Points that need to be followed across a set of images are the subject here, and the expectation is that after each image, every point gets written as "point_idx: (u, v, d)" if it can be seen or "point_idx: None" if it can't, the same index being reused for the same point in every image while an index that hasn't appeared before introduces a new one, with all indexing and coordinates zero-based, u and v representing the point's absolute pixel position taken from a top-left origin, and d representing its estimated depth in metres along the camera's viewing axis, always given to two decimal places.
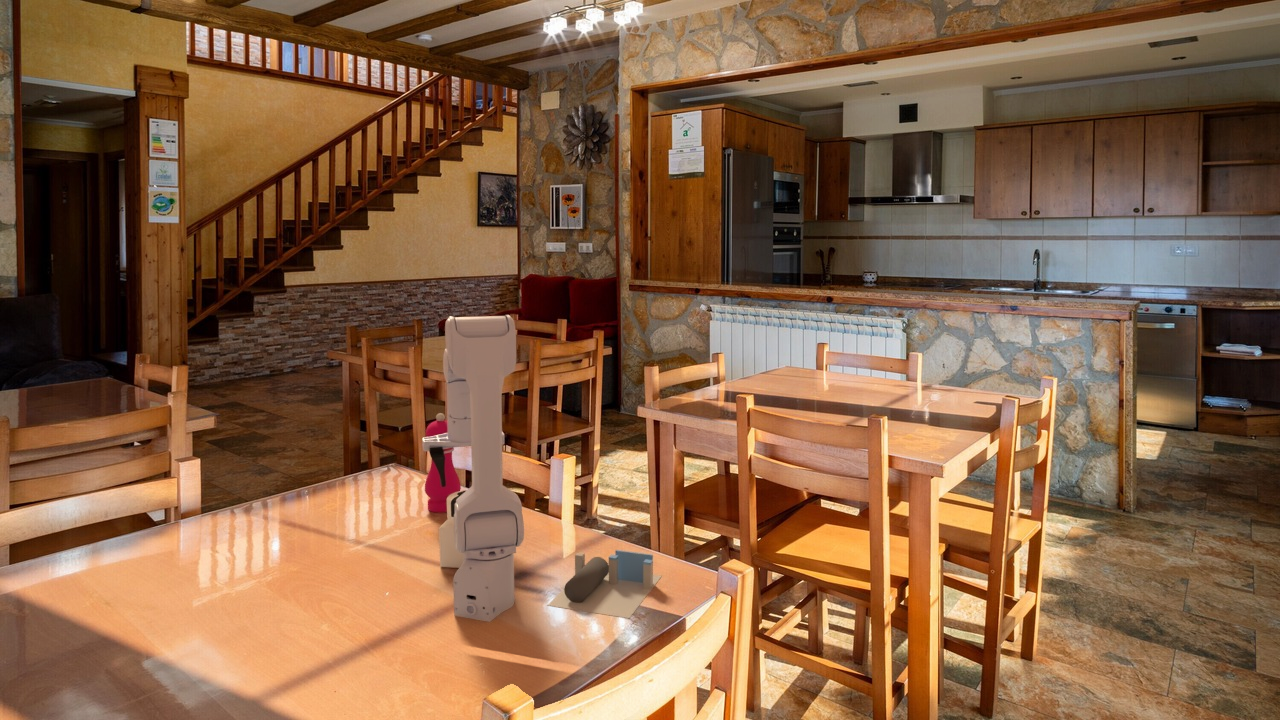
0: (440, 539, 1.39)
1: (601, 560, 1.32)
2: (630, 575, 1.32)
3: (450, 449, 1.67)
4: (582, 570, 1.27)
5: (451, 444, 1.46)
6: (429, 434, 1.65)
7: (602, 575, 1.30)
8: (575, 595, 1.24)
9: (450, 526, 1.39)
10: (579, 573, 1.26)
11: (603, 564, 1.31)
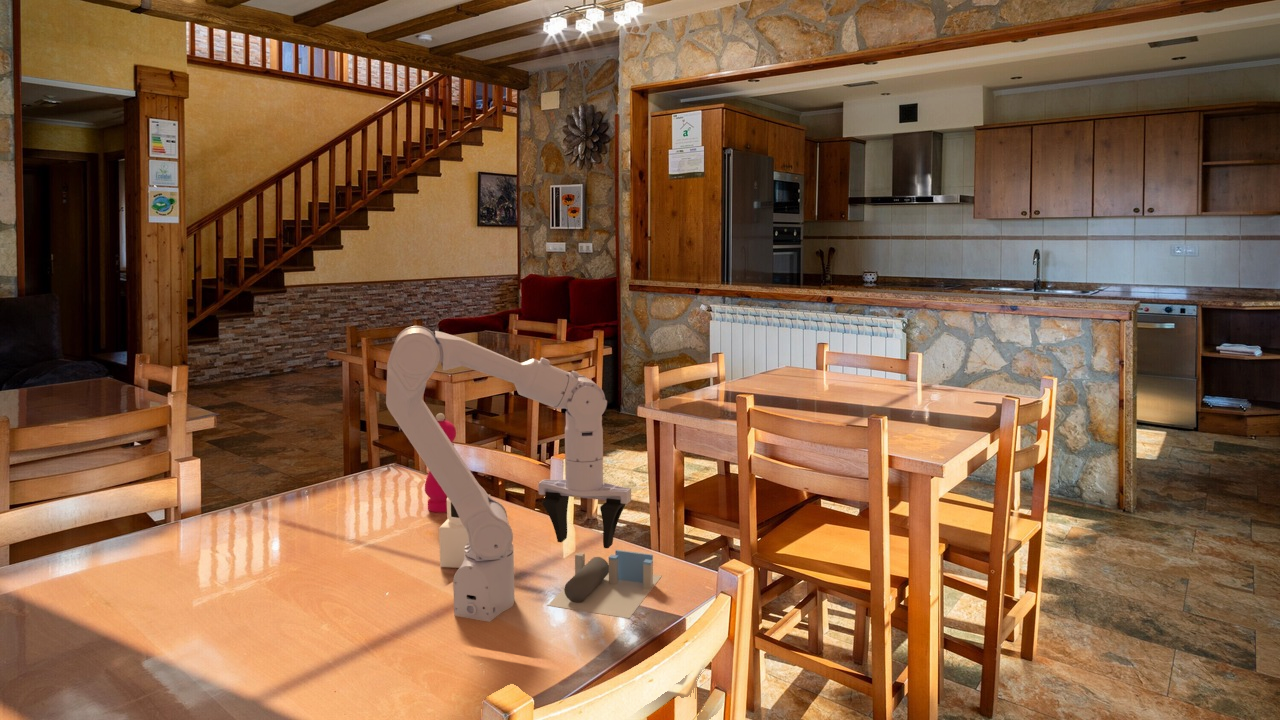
0: (440, 539, 1.39)
1: (601, 561, 1.32)
2: (630, 575, 1.32)
3: None
4: (582, 570, 1.27)
5: (562, 490, 1.24)
6: None
7: (602, 576, 1.30)
8: (575, 595, 1.24)
9: (450, 526, 1.39)
10: (579, 573, 1.26)
11: (603, 564, 1.31)
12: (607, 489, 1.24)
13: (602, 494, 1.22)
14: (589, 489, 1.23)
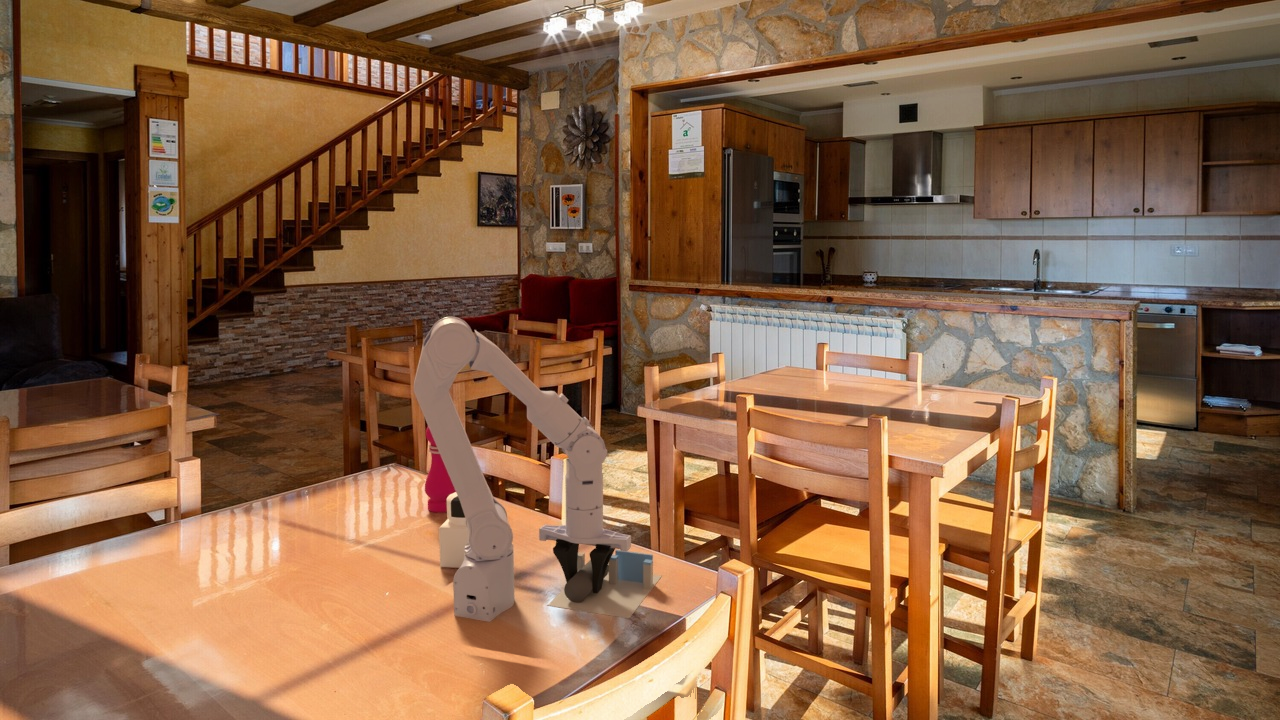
0: (440, 539, 1.39)
1: None
2: (630, 575, 1.32)
3: None
4: (582, 570, 1.27)
5: (563, 537, 1.25)
6: (429, 434, 1.65)
7: None
8: (575, 595, 1.24)
9: (450, 526, 1.39)
10: (579, 573, 1.26)
11: None
12: (607, 536, 1.25)
13: (602, 542, 1.24)
14: (589, 536, 1.24)
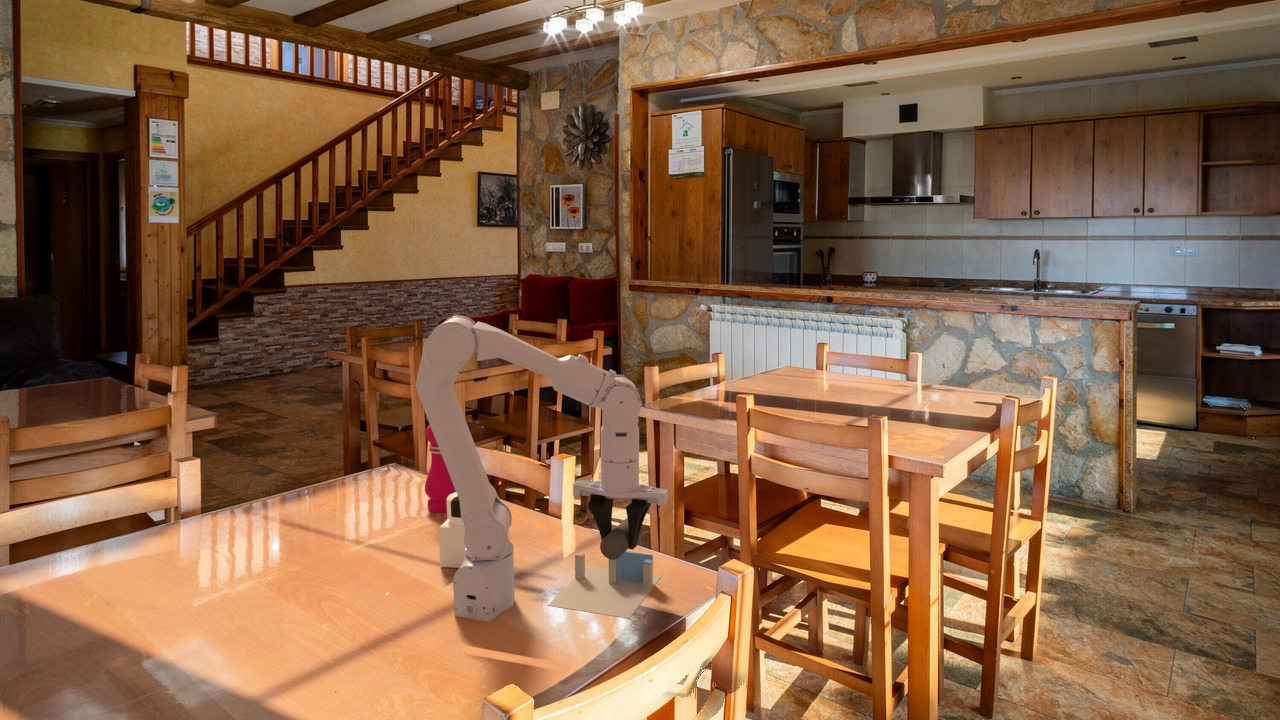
0: (440, 539, 1.39)
1: None
2: (630, 575, 1.32)
3: None
4: (617, 528, 1.25)
5: (598, 492, 1.22)
6: (429, 434, 1.65)
7: None
8: (611, 552, 1.21)
9: (450, 526, 1.39)
10: (614, 530, 1.24)
11: None
12: (643, 491, 1.22)
13: (639, 496, 1.21)
14: (625, 490, 1.21)
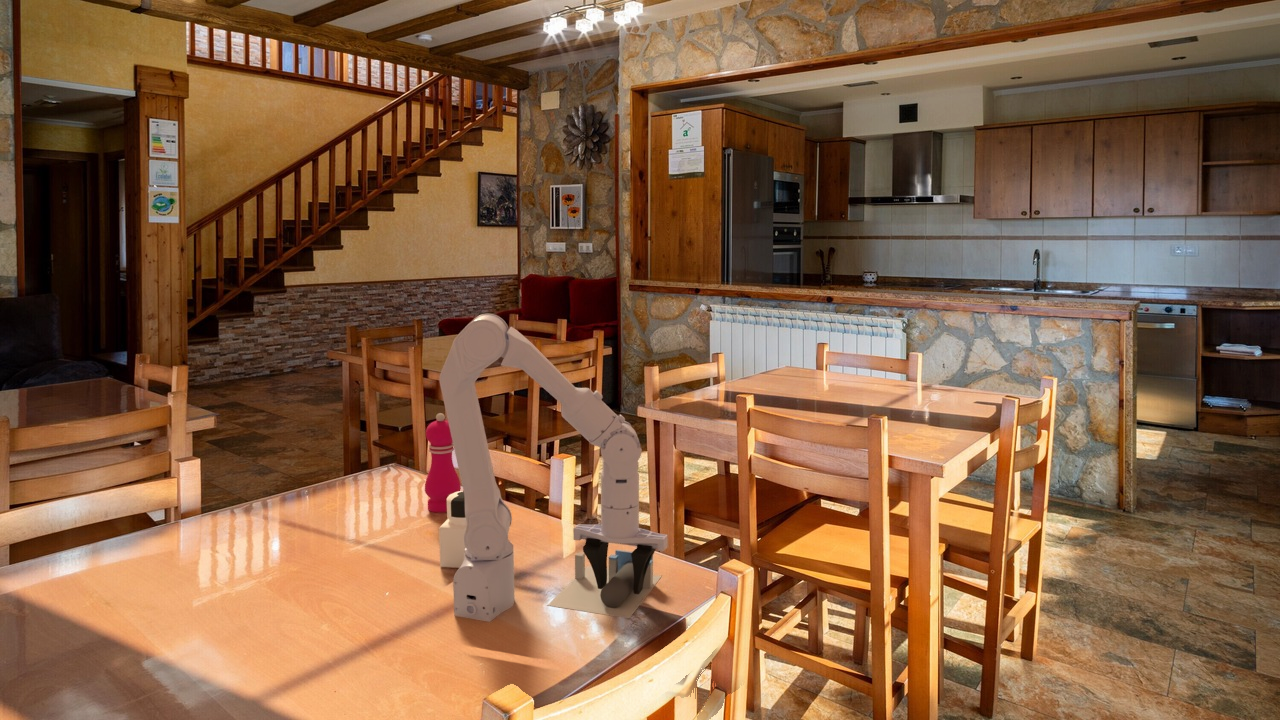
0: (440, 539, 1.39)
1: None
2: None
3: (450, 449, 1.67)
4: (617, 575, 1.26)
5: (598, 537, 1.23)
6: (429, 434, 1.65)
7: None
8: (611, 600, 1.22)
9: (450, 526, 1.39)
10: (615, 578, 1.25)
11: None
12: (643, 536, 1.23)
13: (639, 541, 1.22)
14: (625, 536, 1.22)
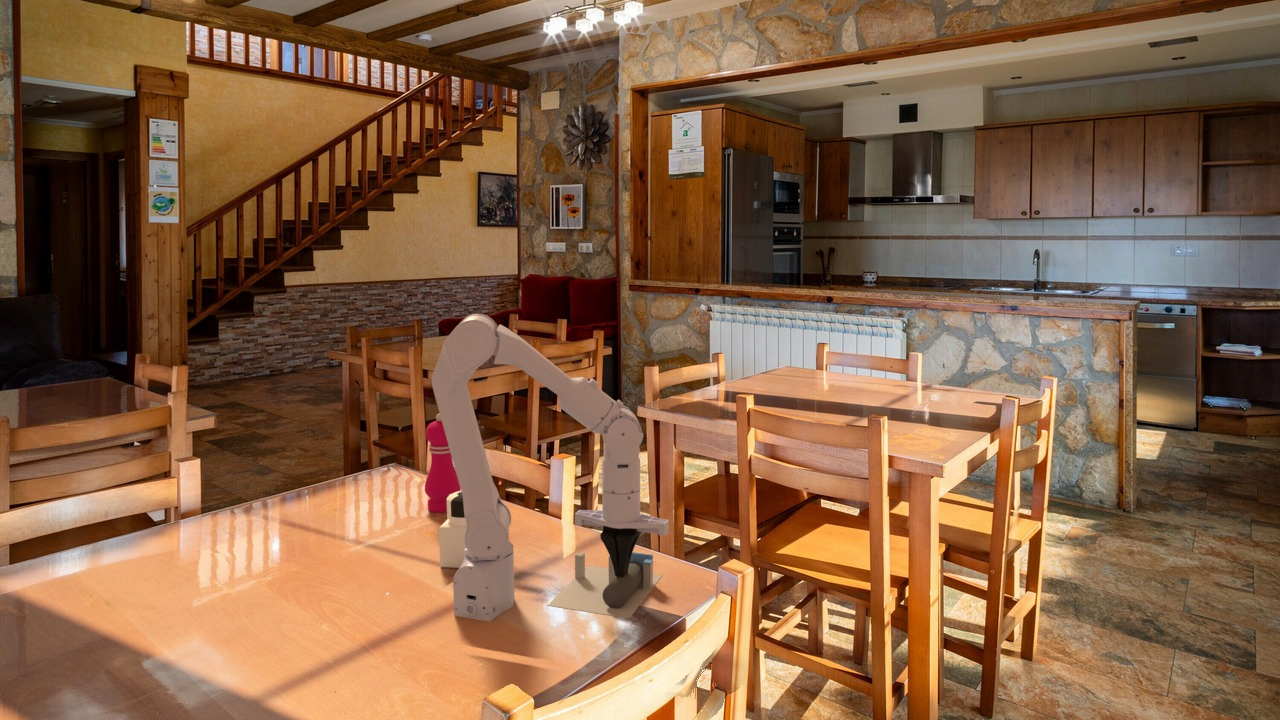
0: (440, 539, 1.39)
1: (639, 567, 1.30)
2: None
3: None
4: None
5: (600, 522, 1.23)
6: (429, 434, 1.65)
7: (639, 583, 1.28)
8: (613, 600, 1.22)
9: (450, 526, 1.39)
10: (619, 578, 1.24)
11: (641, 571, 1.29)
12: (645, 521, 1.23)
13: (640, 526, 1.22)
14: (627, 521, 1.22)
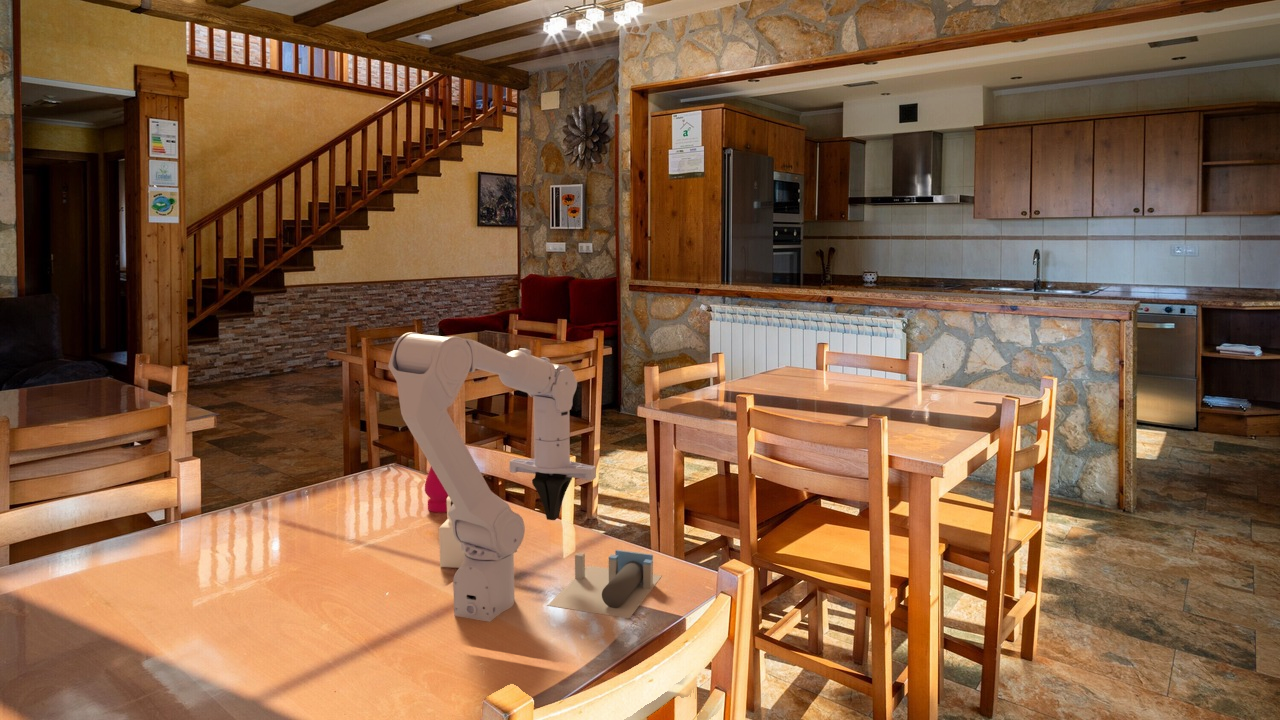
0: (440, 539, 1.39)
1: (638, 566, 1.30)
2: None
3: None
4: (620, 575, 1.26)
5: (531, 468, 1.32)
6: None
7: (638, 581, 1.28)
8: (612, 600, 1.22)
9: (450, 526, 1.39)
10: (617, 578, 1.25)
11: (640, 569, 1.29)
12: (573, 467, 1.32)
13: (568, 471, 1.30)
14: (556, 466, 1.31)
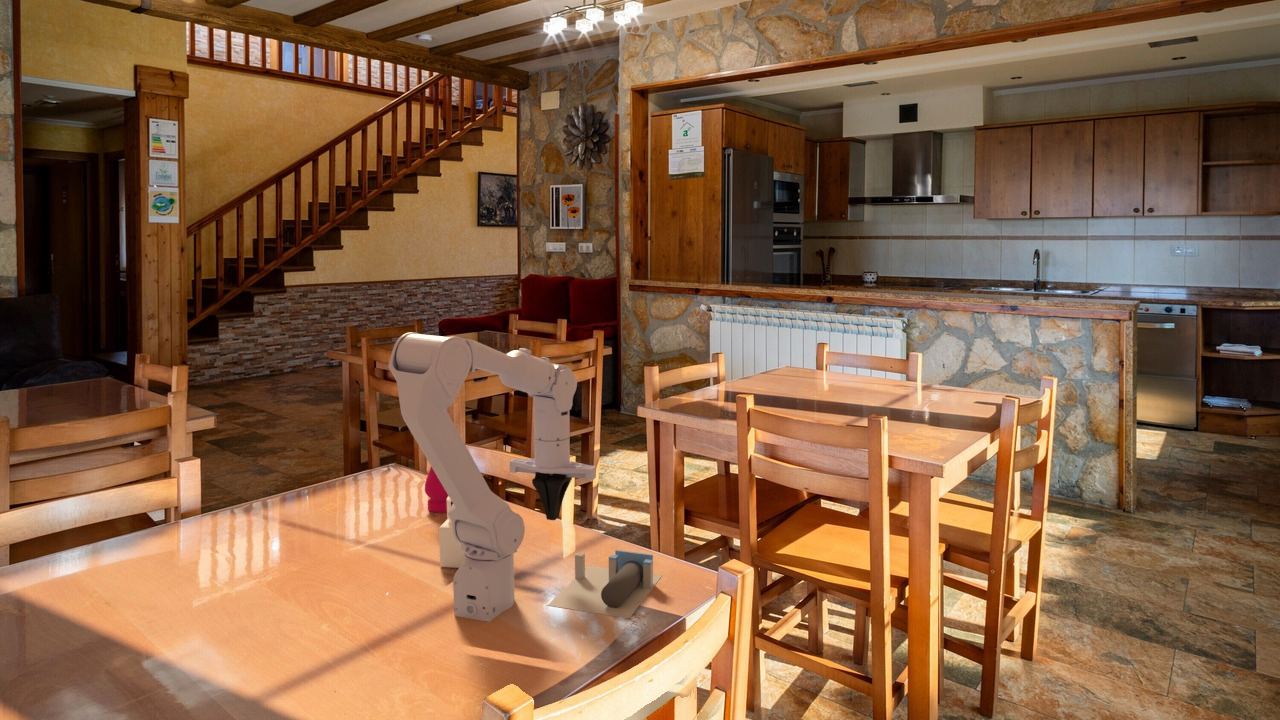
0: (440, 539, 1.39)
1: (637, 565, 1.30)
2: None
3: None
4: (619, 575, 1.26)
5: (531, 468, 1.32)
6: None
7: (638, 580, 1.28)
8: (612, 600, 1.22)
9: (450, 526, 1.39)
10: (616, 578, 1.25)
11: (639, 569, 1.30)
12: (573, 467, 1.32)
13: (568, 471, 1.30)
14: (556, 466, 1.31)
